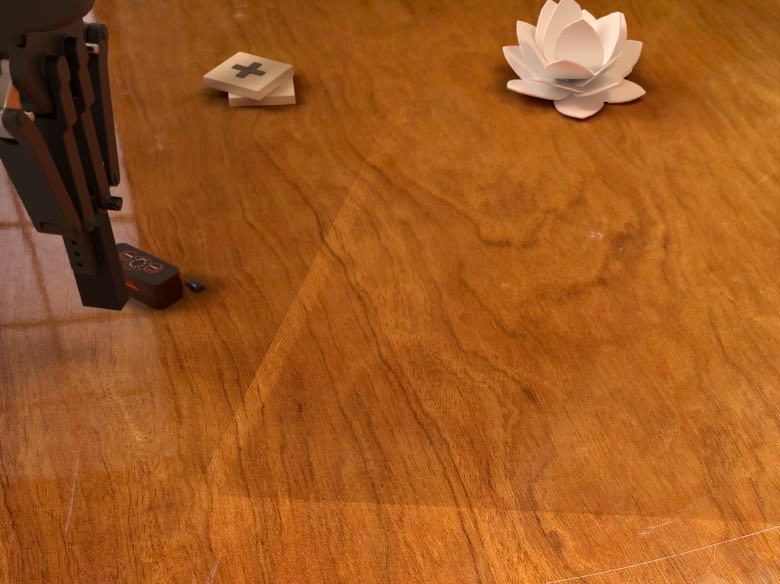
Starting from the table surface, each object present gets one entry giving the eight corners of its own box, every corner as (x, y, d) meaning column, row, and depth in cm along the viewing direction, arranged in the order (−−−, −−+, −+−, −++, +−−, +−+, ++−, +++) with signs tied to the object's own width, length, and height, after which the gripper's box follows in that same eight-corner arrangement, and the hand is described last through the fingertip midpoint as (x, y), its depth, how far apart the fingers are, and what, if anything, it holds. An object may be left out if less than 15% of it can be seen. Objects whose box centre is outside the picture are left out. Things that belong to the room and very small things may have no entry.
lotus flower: (640, 54, 122) (654, -28, 115) (644, 141, 113) (659, 57, 106) (503, 42, 121) (508, -42, 114) (496, 127, 112) (501, 43, 105)
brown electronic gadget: (171, 327, 86) (163, 290, 84) (103, 294, 89) (93, 257, 86) (215, 298, 89) (209, 261, 87) (148, 266, 92) (139, 230, 89)
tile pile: (202, 114, 109) (196, 82, 107) (229, 78, 114) (224, 47, 112) (290, 125, 108) (286, 93, 106) (313, 88, 113) (310, 57, 111)
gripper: (19, -10, 58) (121, 367, 75) (123, -98, 67) (192, 257, 84) (-124, -26, 58) (9, 352, 76) (-2, -112, 67) (93, 244, 85)
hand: (106, 302), depth 80 cm, fingers closed
